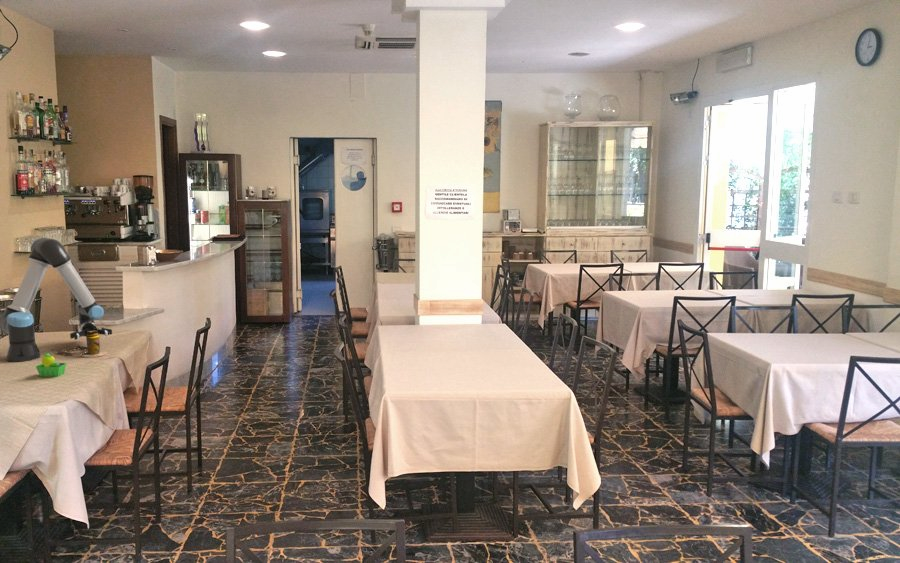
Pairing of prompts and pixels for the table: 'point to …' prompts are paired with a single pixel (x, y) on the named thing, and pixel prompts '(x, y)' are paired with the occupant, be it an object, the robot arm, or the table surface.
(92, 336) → the condiment
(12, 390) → the table surface
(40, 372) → the fruit basket
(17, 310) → the robot arm
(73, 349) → the dark brown openwork trivet
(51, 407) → the table surface
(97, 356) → the serving plate
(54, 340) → the table surface
